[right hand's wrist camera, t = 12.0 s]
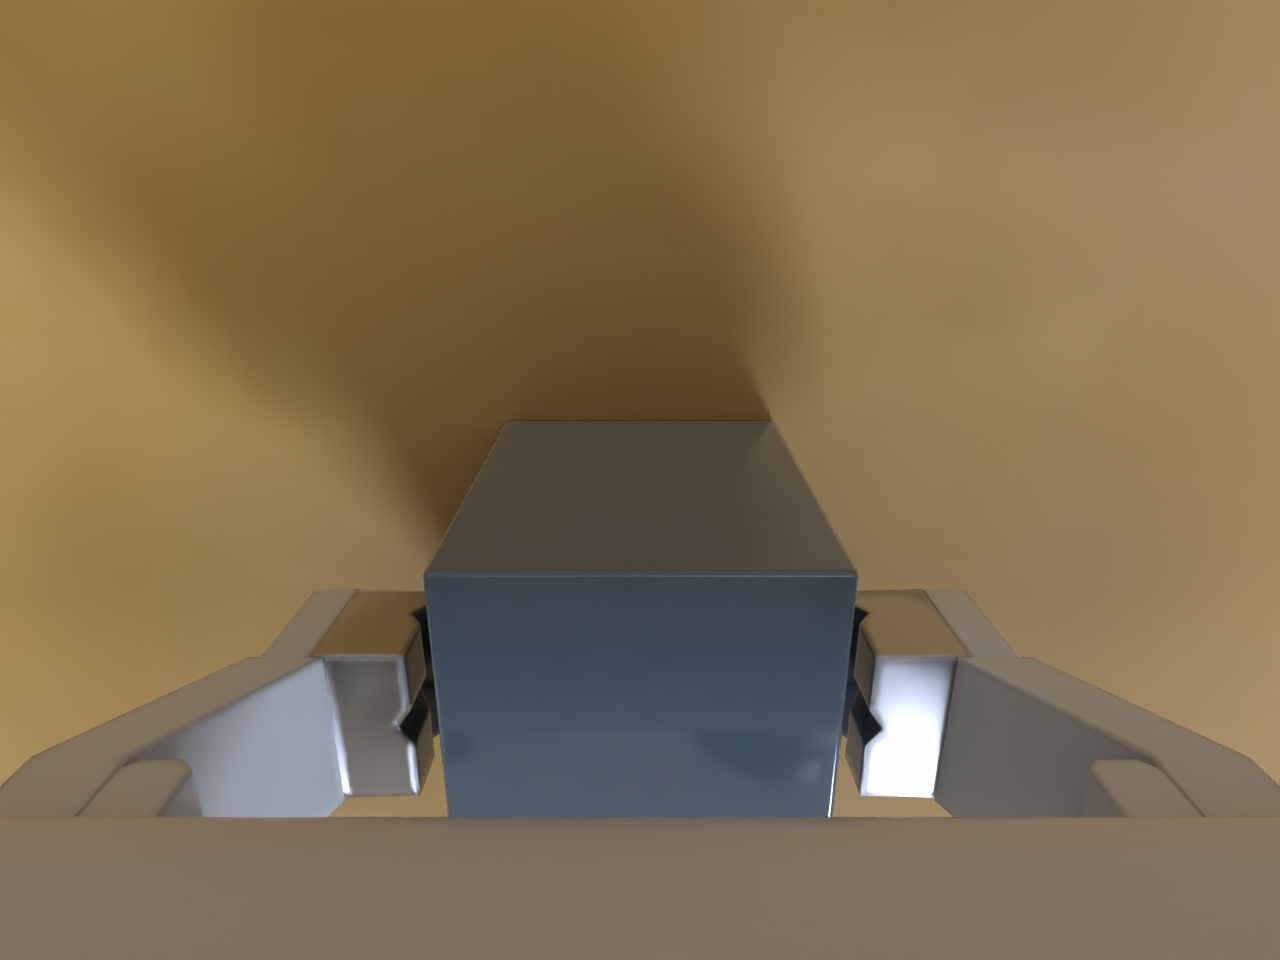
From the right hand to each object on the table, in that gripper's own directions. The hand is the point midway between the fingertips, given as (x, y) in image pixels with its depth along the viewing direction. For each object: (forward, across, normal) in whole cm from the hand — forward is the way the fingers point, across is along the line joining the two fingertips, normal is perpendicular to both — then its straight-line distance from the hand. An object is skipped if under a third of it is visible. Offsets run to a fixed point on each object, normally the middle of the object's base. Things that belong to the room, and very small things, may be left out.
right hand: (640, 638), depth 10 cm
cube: (+3, 0, 0) cm, 3 cm away
